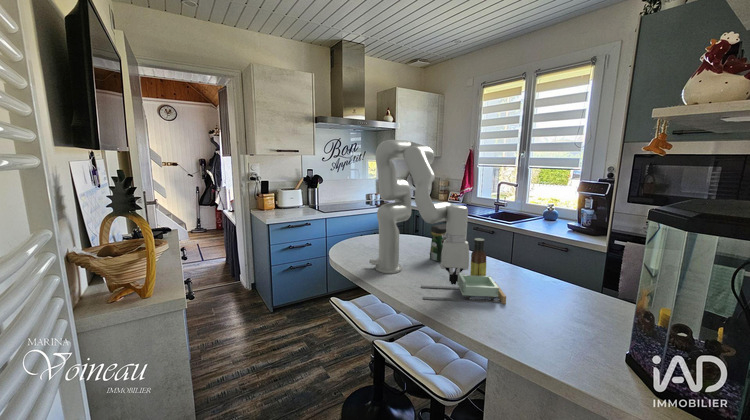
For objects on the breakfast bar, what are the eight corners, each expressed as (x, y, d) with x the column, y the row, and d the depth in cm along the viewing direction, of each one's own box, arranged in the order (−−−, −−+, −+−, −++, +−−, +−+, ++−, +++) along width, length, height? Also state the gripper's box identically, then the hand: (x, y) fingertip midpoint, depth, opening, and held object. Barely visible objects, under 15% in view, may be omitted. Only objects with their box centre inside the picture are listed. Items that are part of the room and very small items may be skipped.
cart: (462, 299, 113) (463, 282, 112) (456, 286, 124) (457, 270, 122) (497, 300, 112) (499, 283, 111) (488, 287, 123) (490, 272, 122)
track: (423, 300, 113) (423, 293, 113) (420, 285, 126) (421, 278, 125) (505, 304, 111) (506, 296, 110) (494, 288, 124) (495, 281, 123)
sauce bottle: (485, 282, 129) (489, 238, 126) (485, 288, 124) (489, 242, 120) (469, 280, 132) (472, 236, 128) (468, 286, 126) (472, 240, 122)
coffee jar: (440, 255, 164) (442, 222, 160) (451, 260, 157) (453, 225, 153) (426, 258, 159) (428, 224, 155) (437, 263, 152) (438, 227, 149)
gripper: (437, 240, 111) (435, 286, 115) (478, 241, 110) (475, 288, 114) (434, 234, 119) (432, 278, 122) (473, 235, 118) (470, 279, 121)
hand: (453, 283), depth 118 cm, fingers closed
